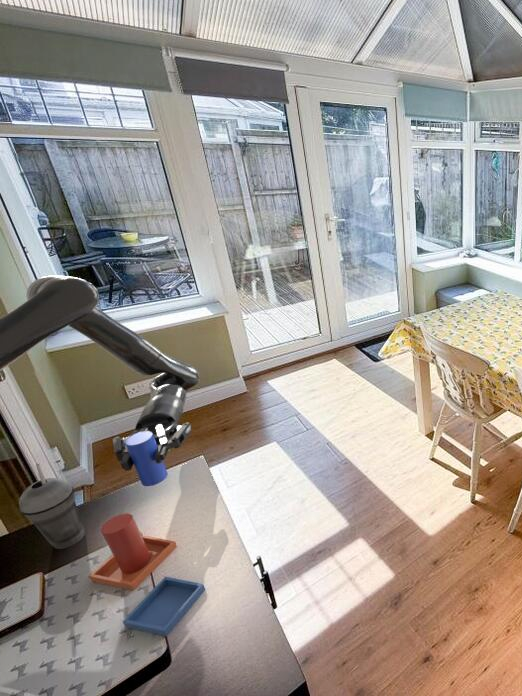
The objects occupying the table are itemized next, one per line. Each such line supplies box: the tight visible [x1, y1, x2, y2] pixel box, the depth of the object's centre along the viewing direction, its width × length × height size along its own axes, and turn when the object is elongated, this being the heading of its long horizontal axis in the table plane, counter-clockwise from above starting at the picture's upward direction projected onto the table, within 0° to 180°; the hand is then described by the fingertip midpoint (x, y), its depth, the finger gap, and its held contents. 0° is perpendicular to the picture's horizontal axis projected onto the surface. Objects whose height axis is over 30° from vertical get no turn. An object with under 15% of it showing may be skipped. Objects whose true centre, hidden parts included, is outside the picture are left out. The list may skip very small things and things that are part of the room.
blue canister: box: [125, 431, 169, 487], centre depth 87 cm, size 4×4×11 cm
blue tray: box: [122, 576, 206, 638], centre depth 73 cm, size 8×8×2 cm
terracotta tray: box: [88, 534, 178, 591], centre depth 80 cm, size 9×9×2 cm
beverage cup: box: [18, 463, 86, 550], centre depth 80 cm, size 7×7×20 cm
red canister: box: [100, 512, 151, 574], centre depth 78 cm, size 4×4×11 cm
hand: (142, 463), depth 84 cm, fingers closed on blue canister, 4 cm apart
